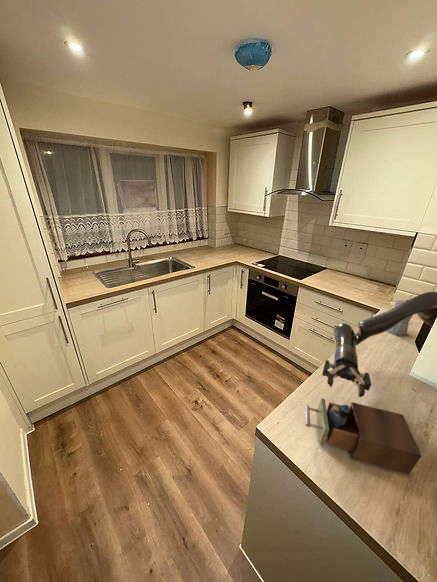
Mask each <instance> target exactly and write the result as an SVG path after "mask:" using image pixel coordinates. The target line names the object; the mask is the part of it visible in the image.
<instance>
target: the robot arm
mask: <svg viewBox="0 0 437 582" xmlns="http://www.w3.org/2000/svg"><path fill="white" fill-rule="evenodd" d="M407 300H408V301H406V300H405V301H406V302H404V303H402V304H400V305H399V306H397V307H395V306H394V307H393V308H391V309H389V310H387V311H385V312H382V313H379V314H378V315H374V316H372V317H368V318H366V319H363V320H361V321H359V322H358V323H357V327H358V331H357V332H355V331H354V329H353V326H351V325H350V323H345V322H341V323H339V324H337V325H336V326H335V328H334V330H333V335H334V340H335V351H334V357H333V358H334V361H333V363H332V362H331V363H330V361H329V360H328V359H326V360H325V362H324V365H323V370H322V376H323V377H327V385H328V387H331V388H332V387H333V384H334V379H337V378H340V379H344V380H347V381H349V382H351V383H352V384H353V385H354V386H356V387H357V395H358V397H359V398H362V397H364V396H365V393H366V392H367V391H368V392H369V391H370V389H371V386H372V382H371V381H372V380H371V377H370V373H368V372H365V373H363V372H360V371H359V361H358V353H357V346H358V345H360V344H361V343H362V342H364V341H366V340H368V339H369V338H371V337H374V336H378V335H380V334H383V333H386V332H389V331H388V330H390V329H392V328H393V327H394V326H396V325H397V324H398V323H399V322H401V321H402V320H404V319H405V318H407V317H409V316H411V315H413V316H414V315H416V314H417V316H418V317H419V319H420V320H422V321H423V322H424V323H425V324H427V325H428V326H430V327H432V326H433V324H434V322H435V319H436V318H437V291H427V292H423V293H420V294H418V295H416V296H414V297H412V298H410V299H407ZM432 328H433V327H432ZM331 368H332V370H330V369H331ZM329 370H330V371H329Z"/></svg>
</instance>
